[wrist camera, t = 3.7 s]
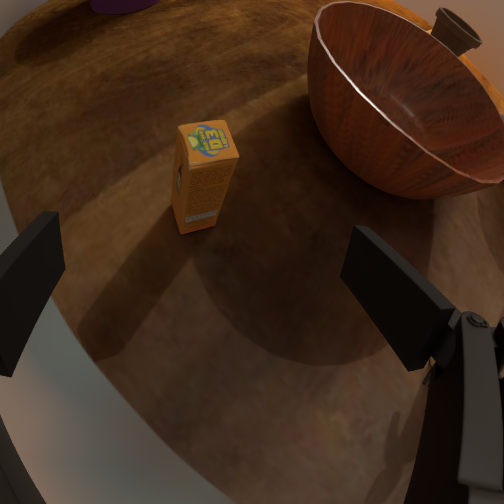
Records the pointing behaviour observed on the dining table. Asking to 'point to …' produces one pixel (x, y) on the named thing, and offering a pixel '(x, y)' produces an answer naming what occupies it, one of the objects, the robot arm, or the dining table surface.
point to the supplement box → (201, 173)
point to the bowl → (401, 105)
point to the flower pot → (454, 32)
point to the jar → (119, 6)
